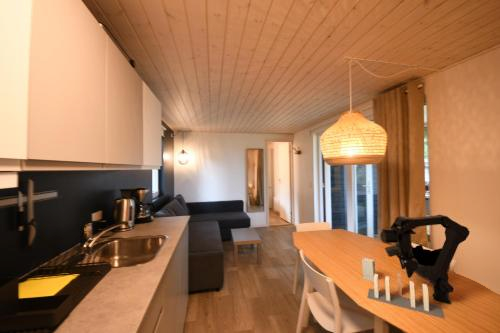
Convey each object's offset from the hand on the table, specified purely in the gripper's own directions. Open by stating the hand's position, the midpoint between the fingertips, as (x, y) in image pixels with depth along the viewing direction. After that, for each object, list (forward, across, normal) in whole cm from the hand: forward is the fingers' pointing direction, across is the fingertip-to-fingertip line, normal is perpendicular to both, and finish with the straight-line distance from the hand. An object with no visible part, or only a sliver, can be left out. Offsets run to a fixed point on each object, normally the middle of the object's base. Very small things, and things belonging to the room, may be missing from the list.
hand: (406, 273), depth 109 cm
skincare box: (+14, -16, -15) cm, 25 cm away
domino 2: (+13, +2, -9) cm, 16 cm away
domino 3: (+13, -5, -2) cm, 14 cm away
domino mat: (+13, +4, -3) cm, 14 cm away
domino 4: (+13, +5, +1) cm, 14 cm away
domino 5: (+13, +6, +6) cm, 15 cm away
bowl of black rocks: (+14, -28, +18) cm, 36 cm away
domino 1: (+13, +1, -14) cm, 19 cm away
